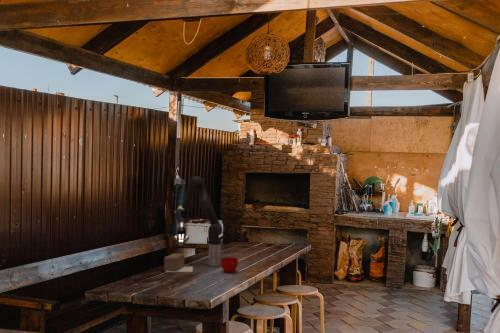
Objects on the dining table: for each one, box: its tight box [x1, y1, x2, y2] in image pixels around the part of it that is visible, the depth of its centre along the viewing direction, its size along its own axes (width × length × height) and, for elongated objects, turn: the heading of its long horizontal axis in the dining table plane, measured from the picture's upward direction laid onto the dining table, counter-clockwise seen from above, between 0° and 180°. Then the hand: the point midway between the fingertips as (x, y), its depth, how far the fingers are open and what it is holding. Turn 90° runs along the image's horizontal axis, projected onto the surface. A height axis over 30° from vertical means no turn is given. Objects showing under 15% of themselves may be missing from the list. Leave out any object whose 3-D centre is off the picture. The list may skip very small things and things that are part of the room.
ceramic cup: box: [220, 256, 239, 274], centre depth 384 cm, size 13×17×10 cm
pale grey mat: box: [165, 266, 194, 273], centre depth 391 cm, size 20×19×1 cm
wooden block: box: [163, 252, 185, 271], centre depth 393 cm, size 10×10×20 cm
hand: (180, 246), depth 404 cm, fingers closed
